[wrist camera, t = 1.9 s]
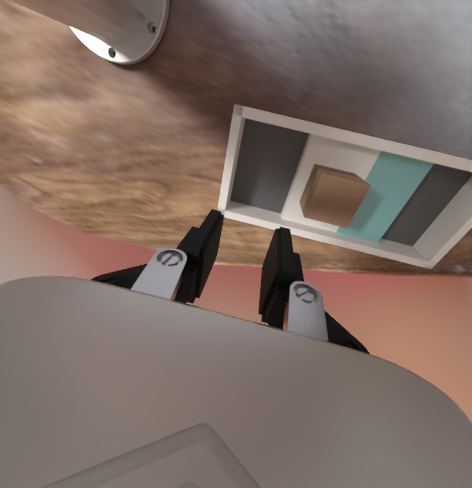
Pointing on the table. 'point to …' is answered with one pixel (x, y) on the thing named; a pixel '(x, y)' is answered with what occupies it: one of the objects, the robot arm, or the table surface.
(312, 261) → the table surface
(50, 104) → the table surface
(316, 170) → the walnut block
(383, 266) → the table surface
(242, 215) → the tray
